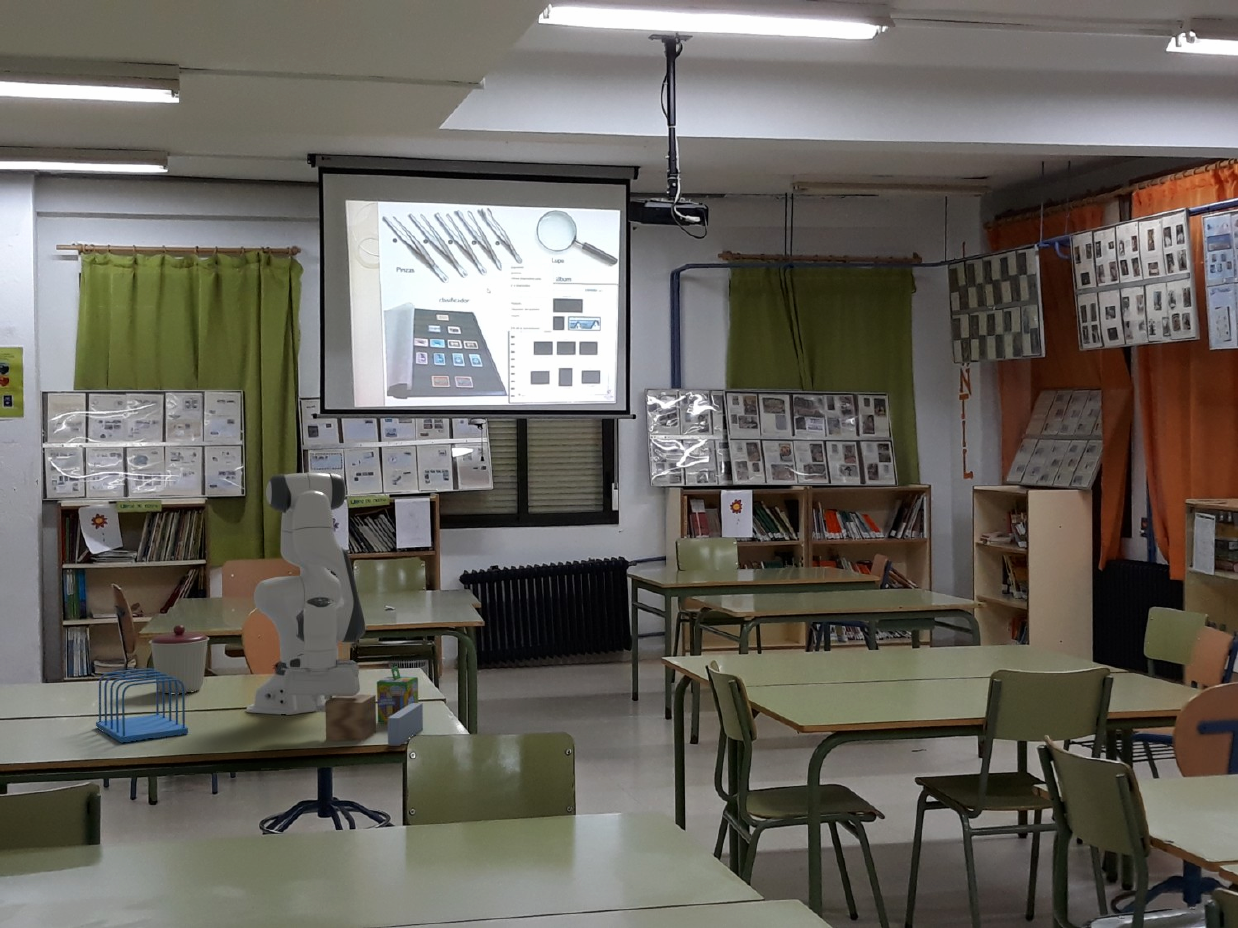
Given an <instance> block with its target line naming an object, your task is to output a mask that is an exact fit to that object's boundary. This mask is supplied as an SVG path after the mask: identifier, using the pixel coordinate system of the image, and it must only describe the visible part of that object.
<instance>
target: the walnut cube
mask: <svg viewBox="0 0 1238 928" xmlns="http://www.w3.org/2000/svg"><path fill="white" fill-rule="evenodd" d="M376 698H377V694H356V695H354V696H334V697H332V699H330V700H328V701H326V700H325V709H326V712H325V741H359V742H360V741H362V742H363V741H365V740H366V739H368V738H369V737H371V736H372V735H374V734H375V733H377V708H376V707H377V704H376V703H377V700H376ZM373 733H374V734H373ZM364 739H365V740H364Z"/></svg>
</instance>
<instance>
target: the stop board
mask: <svg viewBox="0 0 1238 928" xmlns="http://www.w3.org/2000/svg"><path fill="white" fill-rule="evenodd" d="M423 705H424V703H422V702H418V703H411V704H409V705H408V706H406V707H405V708H403V709H401V710H400V711H398V712H396V713H395V714H393V715H392V716H390V717H388V723H387V746H393V747H394V746H397V747H398V746H401V745H403V744H404V743H405V742H407V741H408V740H409V739H408V738H409V737H411V736H412V735H414V734H415V735H416V734H418V733H419V731H420V732H421V731H422V730H423V729H424V726H423V725H424V720H423V719H424V717H423V716H424V713H423V710H424V709H423V708H424V706H423ZM415 735H414V736H415ZM412 737H413V736H412ZM412 737H411V738H412ZM407 739H408V740H407Z"/></svg>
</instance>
